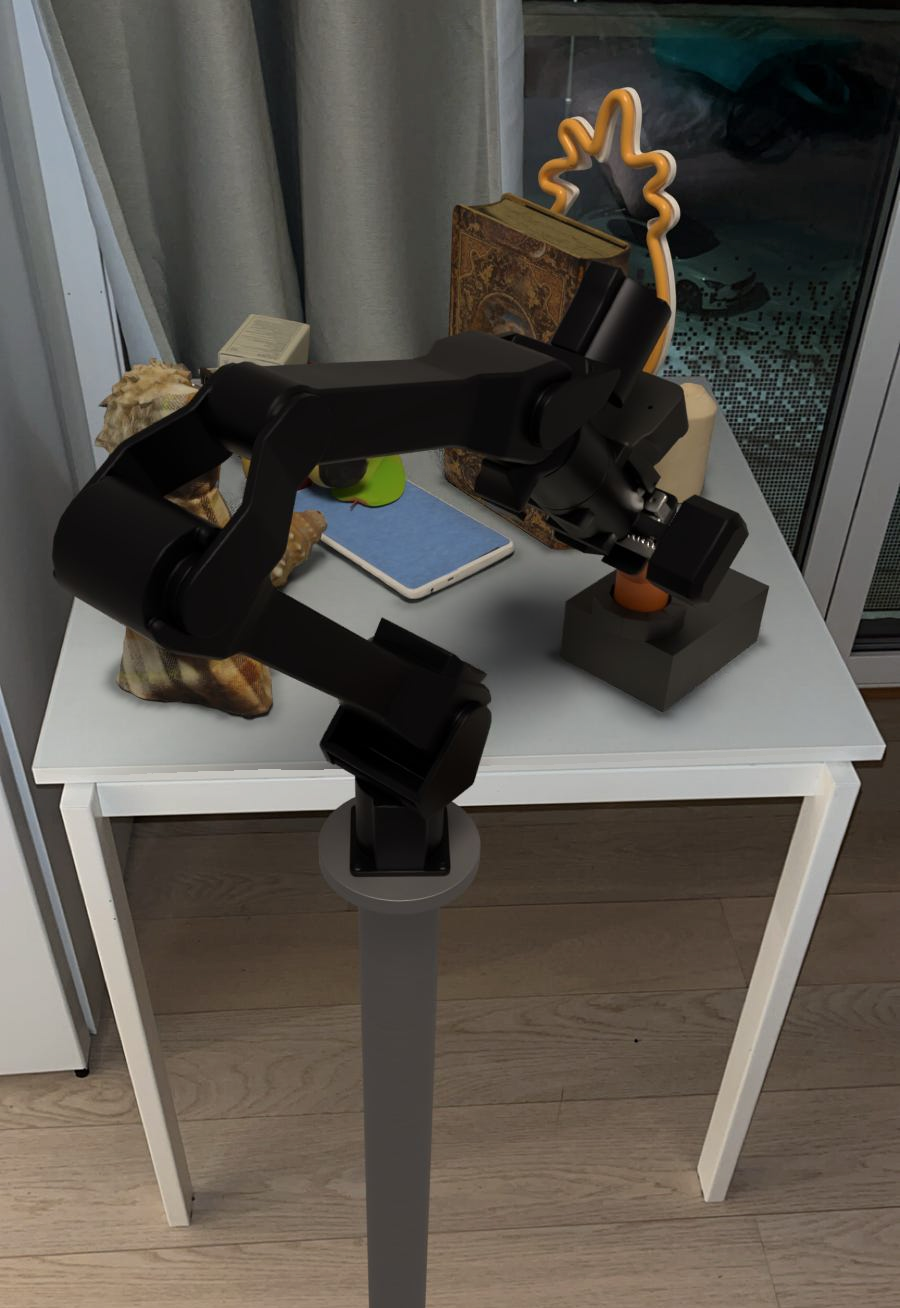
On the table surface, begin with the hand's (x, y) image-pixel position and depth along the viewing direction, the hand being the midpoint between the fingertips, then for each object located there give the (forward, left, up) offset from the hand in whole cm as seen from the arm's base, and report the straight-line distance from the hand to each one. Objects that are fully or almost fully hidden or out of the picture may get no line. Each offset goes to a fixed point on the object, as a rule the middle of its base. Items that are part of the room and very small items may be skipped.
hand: (647, 553), depth 93 cm
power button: (0, 0, -4) cm, 4 cm away
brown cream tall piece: (0, +34, -11) cm, 35 cm away
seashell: (+13, +30, -11) cm, 34 cm away
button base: (+3, -3, -10) cm, 11 cm away
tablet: (+20, +18, -10) cm, 29 cm away
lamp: (+37, 0, -10) cm, 38 cm away
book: (+25, +6, -11) cm, 28 cm away
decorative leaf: (+25, +20, -6) cm, 32 cm away
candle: (+28, -8, -11) cm, 31 cm away
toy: (+29, +29, -6) cm, 41 cm away
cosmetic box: (+46, +29, -4) cm, 54 cm away
